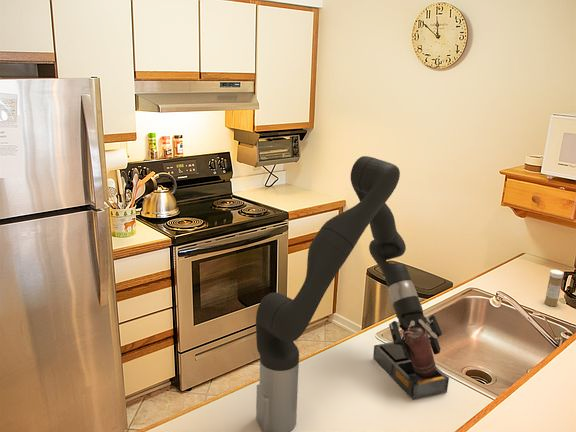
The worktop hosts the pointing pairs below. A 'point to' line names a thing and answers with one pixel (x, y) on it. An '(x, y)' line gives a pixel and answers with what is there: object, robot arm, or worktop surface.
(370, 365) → the worktop surface
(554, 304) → the sprinkles bottle
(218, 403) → the worktop surface
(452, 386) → the worktop surface
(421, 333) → the can
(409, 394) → the dark grey open box
